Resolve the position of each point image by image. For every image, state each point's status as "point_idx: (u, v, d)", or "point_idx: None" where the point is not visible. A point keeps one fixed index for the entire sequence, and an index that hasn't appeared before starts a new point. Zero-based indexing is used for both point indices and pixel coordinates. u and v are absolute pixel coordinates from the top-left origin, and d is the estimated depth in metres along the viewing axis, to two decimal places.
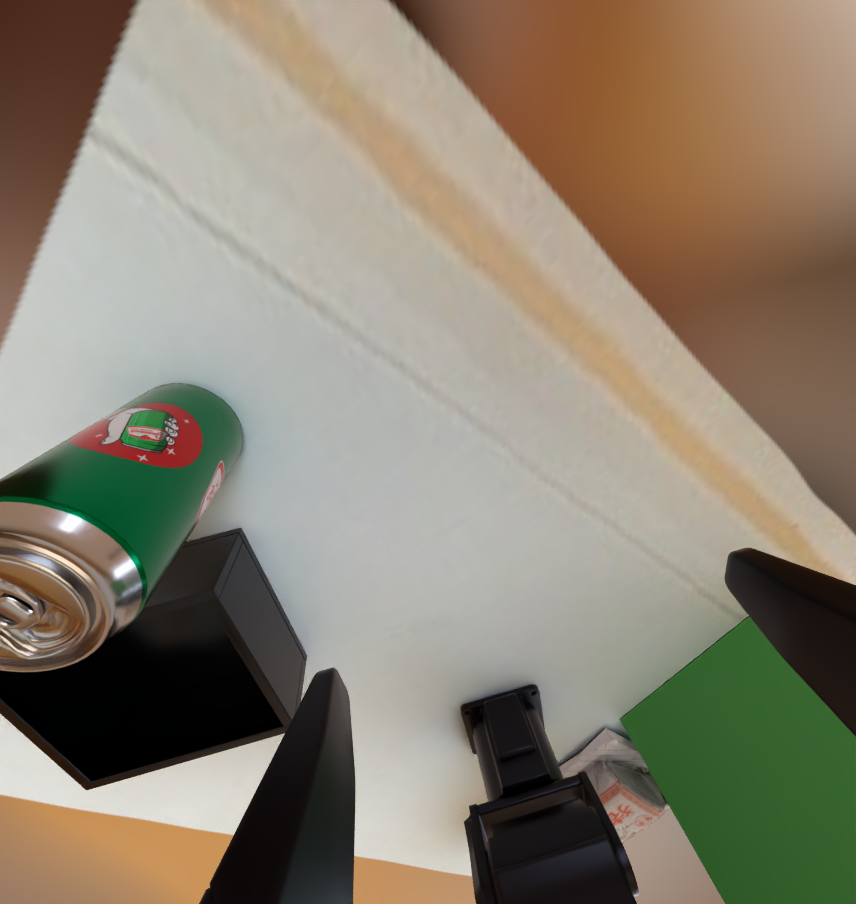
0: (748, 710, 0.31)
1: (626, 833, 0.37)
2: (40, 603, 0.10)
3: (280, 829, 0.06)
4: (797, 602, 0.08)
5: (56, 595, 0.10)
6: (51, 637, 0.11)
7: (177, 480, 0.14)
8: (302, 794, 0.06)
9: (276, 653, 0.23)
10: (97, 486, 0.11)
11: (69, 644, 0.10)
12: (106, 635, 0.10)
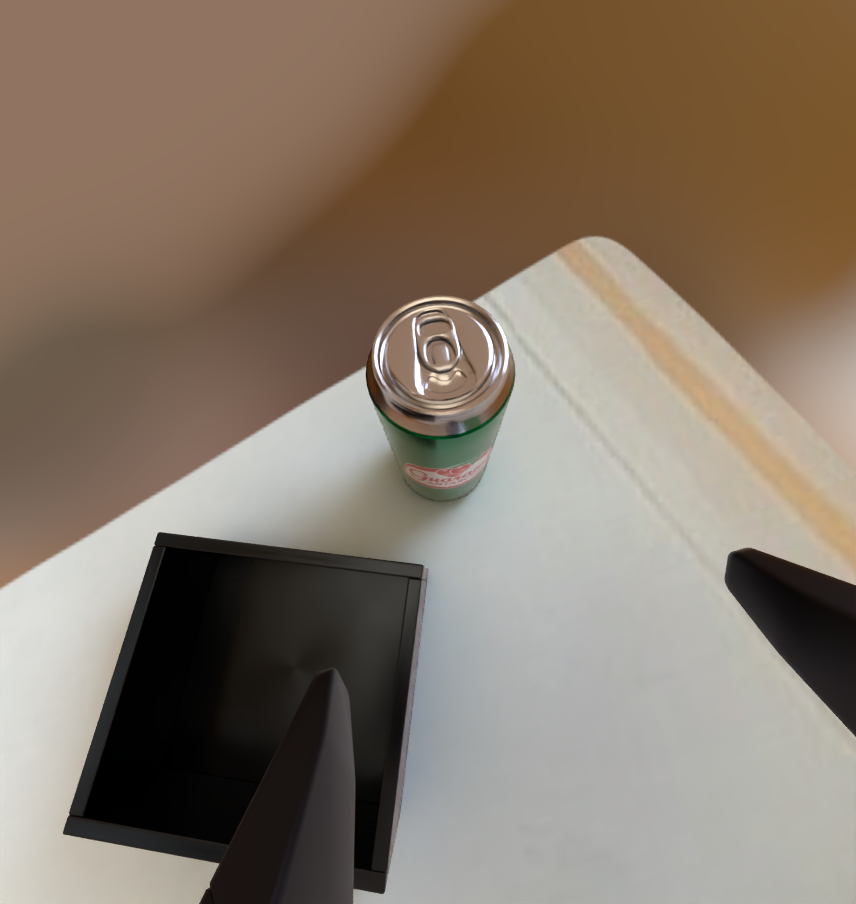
0: None
1: None
2: (458, 359, 0.13)
3: (280, 829, 0.06)
4: (797, 603, 0.08)
5: (478, 352, 0.13)
6: (437, 392, 0.13)
7: None
8: (302, 794, 0.06)
9: (405, 735, 0.17)
10: None
11: (453, 396, 0.12)
12: (483, 401, 0.12)
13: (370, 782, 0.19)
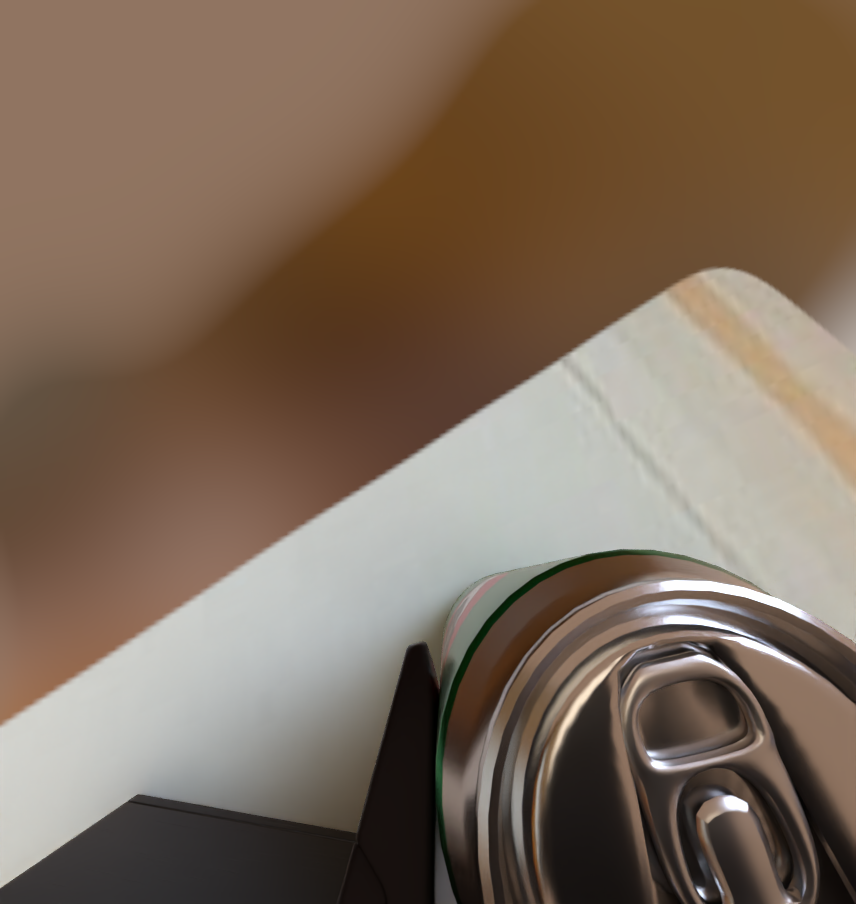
0: None
1: None
2: (807, 875, 0.03)
3: (415, 788, 0.06)
4: None
5: None
6: None
7: None
8: (428, 756, 0.06)
9: None
10: None
11: None
12: None
13: None
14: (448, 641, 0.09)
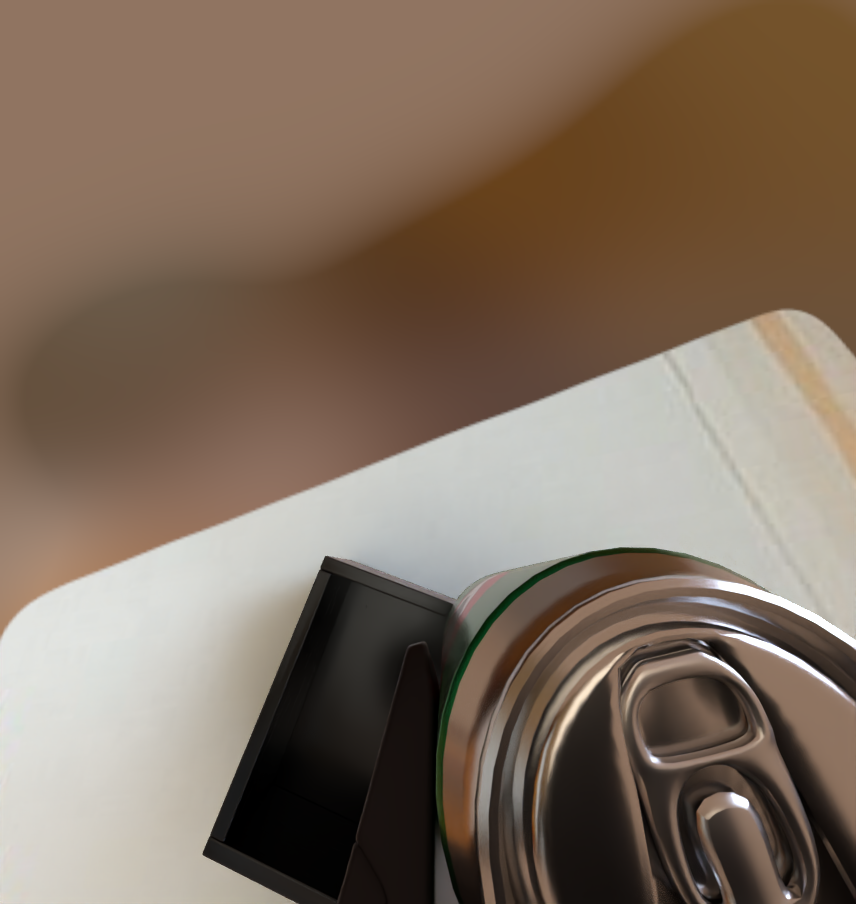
0: None
1: None
2: (807, 871, 0.03)
3: (415, 788, 0.06)
4: None
5: None
6: None
7: None
8: (428, 756, 0.06)
9: None
10: None
11: None
12: None
13: None
14: (449, 640, 0.09)
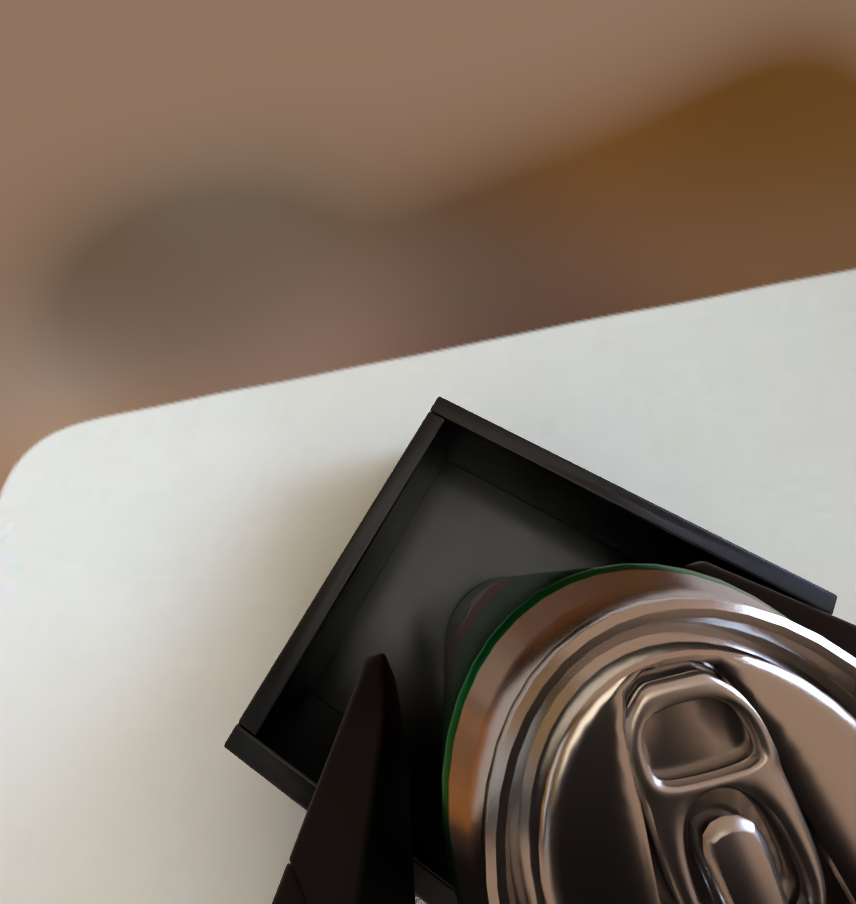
0: None
1: None
2: (814, 895, 0.03)
3: (354, 806, 0.06)
4: None
5: None
6: None
7: None
8: (370, 773, 0.06)
9: None
10: None
11: None
12: None
13: None
14: (451, 651, 0.09)
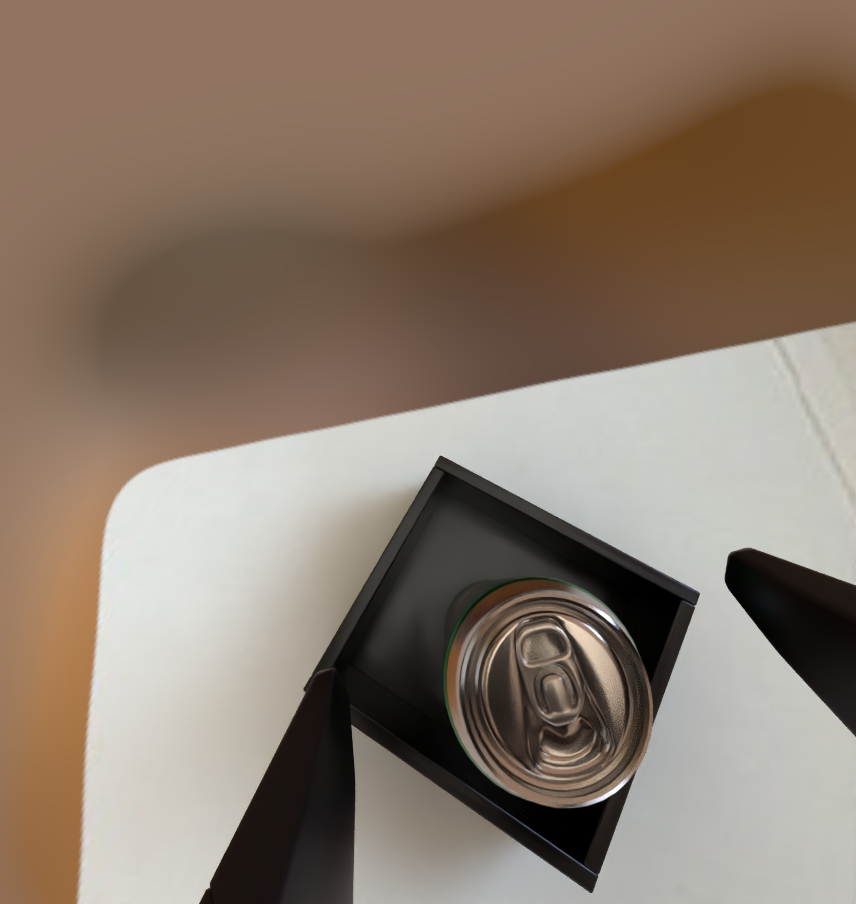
0: None
1: None
2: (582, 702, 0.09)
3: (280, 829, 0.06)
4: (797, 602, 0.08)
5: (610, 696, 0.09)
6: (554, 755, 0.09)
7: None
8: (302, 794, 0.06)
9: None
10: None
11: (582, 773, 0.09)
12: (625, 782, 0.09)
13: None
14: (448, 625, 0.14)
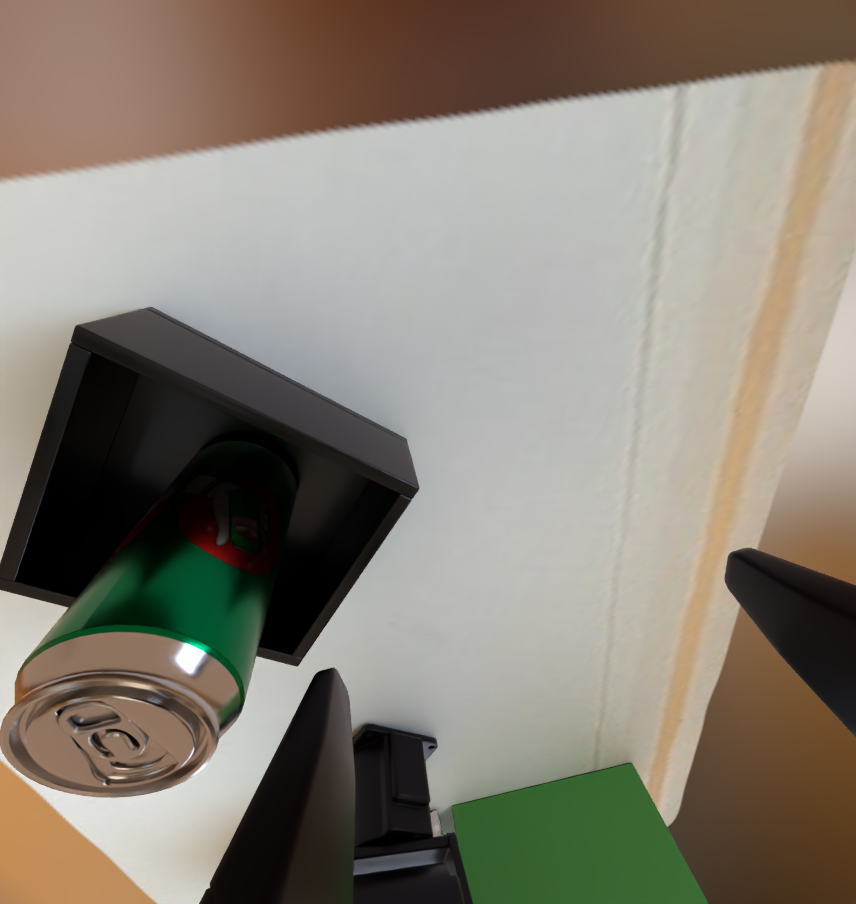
0: (574, 849, 0.34)
1: None
2: (147, 741, 0.09)
3: (280, 829, 0.06)
4: (797, 602, 0.08)
5: (171, 740, 0.09)
6: (130, 765, 0.10)
7: (268, 588, 0.13)
8: (302, 794, 0.06)
9: None
10: (225, 613, 0.11)
11: (150, 778, 0.10)
12: (191, 775, 0.10)
13: (293, 572, 0.23)
14: None
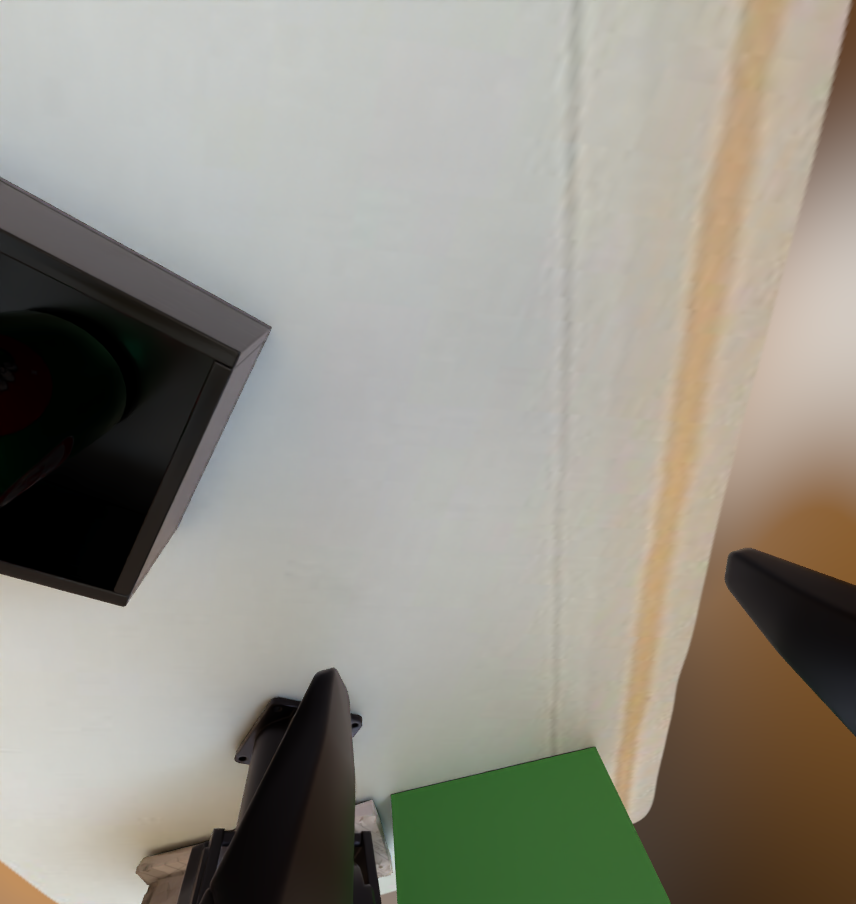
0: (522, 842, 0.30)
1: None
2: None
3: (280, 829, 0.06)
4: (797, 603, 0.08)
5: None
6: None
7: None
8: (302, 794, 0.06)
9: (183, 496, 0.16)
10: None
11: None
12: None
13: (148, 502, 0.19)
14: None
